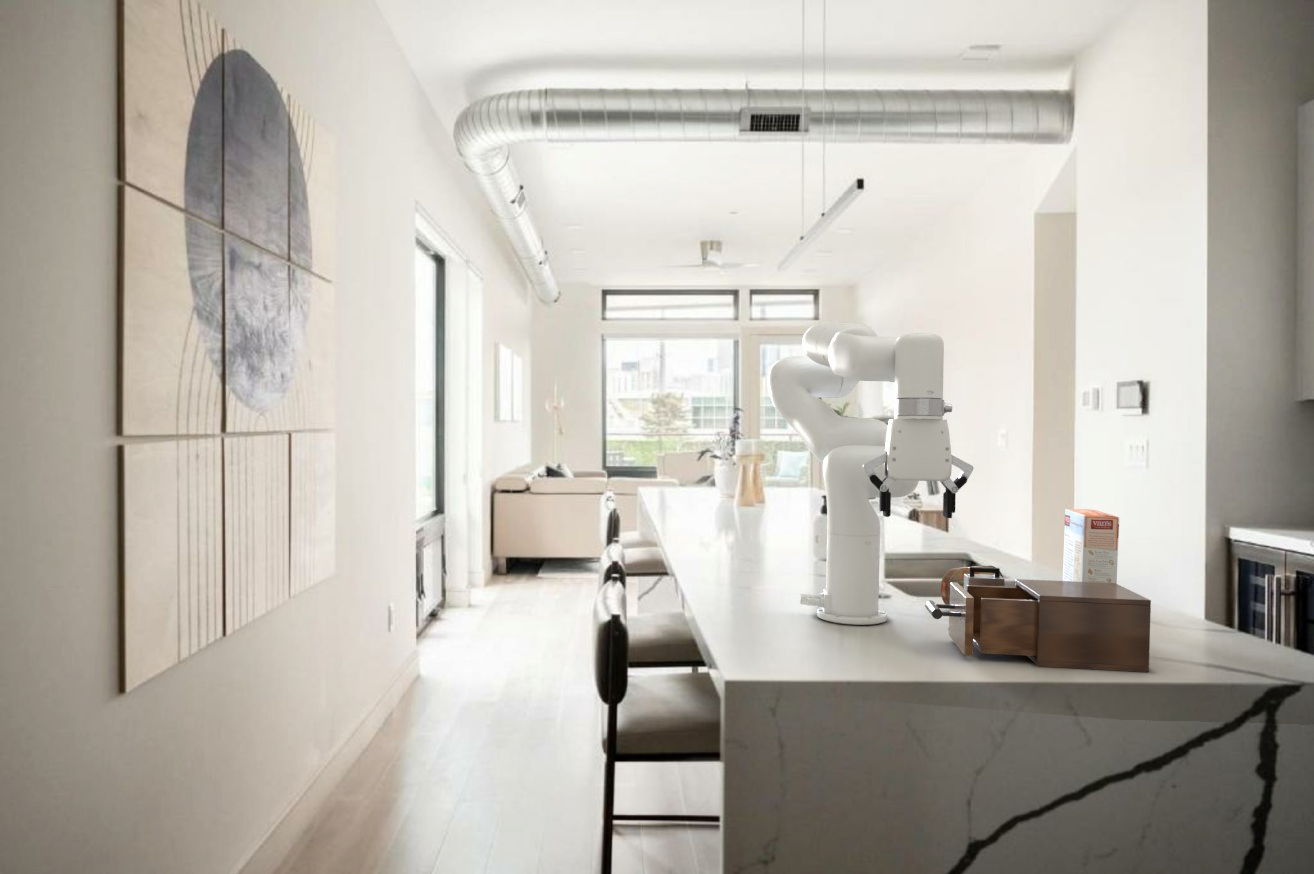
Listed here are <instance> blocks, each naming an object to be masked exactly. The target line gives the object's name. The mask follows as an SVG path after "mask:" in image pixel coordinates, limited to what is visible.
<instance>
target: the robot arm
mask: <svg viewBox="0 0 1314 874" xmlns="http://www.w3.org/2000/svg"><path fill="white" fill-rule="evenodd" d="M944 343H945V342H944V340H943V338H942V336H940V335H939V334H936V333H930V332H929V333H928V332H917V333H914V332H913V333H906V334H902V335H900V336H899V337H894V336H879V335H877V332H875V329H874V328H872V327H871V326H870V325H868V324H866V323H858V322H844V321H843V322H841V321H822V322H817V323H815V324H813V325H812V326H810V327H809V328H808V329H807V330H806V331H805V333H804V334H803V337H802V348H803V351H804V353H805V354H806V355H791V356H787V357H783V358H780V359H778V360H777V361H775V362H774V363H773V364H772V365H771V367H770V369H769V370H768V375H767V388H768V392H769V397H770V399H771V402H772V405H773V408H774V409H775V410H776V411H777V414H779V416H780V417H781V418H782V419H783V420H784V421H785V422H786V423H787V424H788V426H790V427H791V428H792V429H793V430H794V431H795V432H796V433H797V435H798V437H799V438H800V439H801V441H802V442H803V443H804V444H805V446H806V447H807V449H808V450H809V451H810V452H811V454H812V455H813V457H814V458H815V459H816V460H817V461H818V462H820V463H821V464H822V476H823V484H824V490H825V499H826V513H827V514H826V517H827V518H826V562H825V563H826V564H825V565H826V567H825V569H826V570H825V588H824V589H823V590H822V592H817V594H811V593H800V605H807V606H809V607H810V606H811V607H815V606H816V607H818V608H817V609H816V616H817V617H818V618H819V619H820V620H823V621H826V622H831V623H836V624H843V625H855V626H856V625H857V626H859V625H860V626H866V625H868V626H869V625H877V624H878V625H879V624H882V623H885V622H886V621H887V620H888V613H887V612H886V611H884V610H882V609H879V601H880V600H879V598H880V597H879V595H880V557H881V556H880V554H881V522H880V519H879V518H880V517H879V516H878V512H877V511H876V510H875V508H874V506H873V505H872V503H871V501H870V500H869V499H874V498H875V499H876V498H877V499H878V498H879V504H878V505H879V507H878V508H879V512H882V516H883V517H885V518H890V517H891V511H892V509H891V508H892V507H891V506H892V505H891V503H892V498H902V497H906V496H908V495H910V494H912V493H913V492H914V491H915V490H916V489H917V487H918V485H919V482H939V483H940V484H941V485H942V486H943V487H944V489H945V491H944V492H943V494H942V516H943V517H944V518H946V519H953V514H955V513H956V494H957V493H958V492H959V491H960V489H962V487H963V486H965V485H966V484H967V482H968V479H969V478H970V477H971V475H972V472H973V471H974V466H973V465H971V464H970V463H968V462H966V461H964V460H962V459H961V458H959V457H957V456H955V455H953V454H952V447H951V446H952V445H951V437H950V436H951V435H950V430H949V429H950V428H949V424H948V420H947V419H944V416H945V414H947V413H952V411H953V404H952V403H947V402H946V401H945V399H944V365H945V363H944V361H945V360H944V359H945V356H944V355H945V354H944V353H945V344H944ZM859 382H889V383H894V416H893V417H894V418H891V419H890V418H889V419H888V424H887V423H885V422H884V421H882V420H880V419H877V418H870V417H850V416H849V417H848V416H842V415H840V414H838V413H837V412H836V411H835V410H834V409H833V407H832V406H831V405H830V404H828V403H827V401H825V400H823V399H838V398H843V397H846V396H848V395H850V393H851V392H852V391H853V390H854V389H855V387H856V386H857V384H858V383H859ZM821 398H823V399H821ZM952 465H953V466H954V467H957V468H958V469H960V473H959V476H957V477H956V478H955V479H954V480H952V479H951V477H952V471H953V470H952V468H953V467H952Z"/></svg>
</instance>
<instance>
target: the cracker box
mask: <svg viewBox="0 0 1314 874" xmlns="http://www.w3.org/2000/svg"><path fill="white" fill-rule="evenodd" d="M1064 511H1065V512H1064V533H1063V536H1064V537H1063V565H1062V581H1074V582H1099V583H1116V584H1118V583H1117V582H1118V560H1119V559H1118V558H1119V557H1118V556H1119V555H1118V554H1119V536H1120V535H1119V534H1120V517H1119V516H1116V515H1114V514H1109V513H1107V512H1103V511H1100V510H1096V509H1090V508H1089V509H1088V508H1065V510H1064Z"/></svg>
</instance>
